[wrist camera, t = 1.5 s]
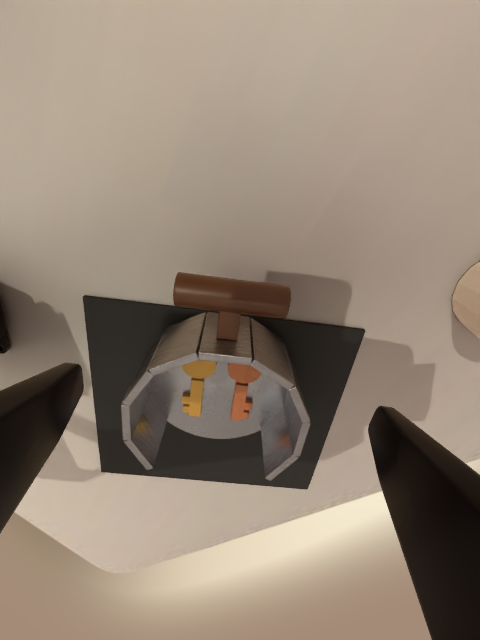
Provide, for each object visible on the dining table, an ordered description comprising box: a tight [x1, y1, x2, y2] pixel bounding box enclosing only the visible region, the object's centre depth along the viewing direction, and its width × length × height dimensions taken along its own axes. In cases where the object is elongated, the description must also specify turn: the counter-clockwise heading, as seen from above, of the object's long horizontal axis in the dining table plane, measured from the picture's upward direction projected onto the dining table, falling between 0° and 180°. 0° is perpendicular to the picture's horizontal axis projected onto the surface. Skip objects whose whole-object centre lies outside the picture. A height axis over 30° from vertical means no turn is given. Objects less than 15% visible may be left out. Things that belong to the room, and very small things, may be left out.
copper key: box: [228, 363, 261, 421], centre depth 22 cm, size 6×2×1 cm, turn 172°
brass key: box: [182, 360, 217, 417], centre depth 21 cm, size 6×2×1 cm, turn 172°
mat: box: [83, 295, 365, 489], centre depth 24 cm, size 20×18×2 cm
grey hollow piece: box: [121, 272, 310, 481], centre depth 19 cm, size 11×14×5 cm
